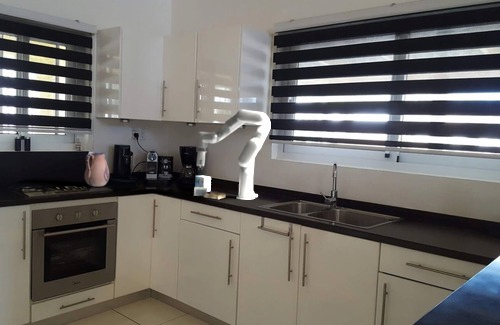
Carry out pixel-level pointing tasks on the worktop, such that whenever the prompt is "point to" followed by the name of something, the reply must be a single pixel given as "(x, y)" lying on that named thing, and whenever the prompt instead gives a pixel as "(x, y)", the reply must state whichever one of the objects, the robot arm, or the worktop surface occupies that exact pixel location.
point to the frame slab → (200, 191)
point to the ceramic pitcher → (96, 169)
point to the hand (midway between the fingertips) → (200, 174)
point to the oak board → (215, 195)
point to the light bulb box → (203, 182)
